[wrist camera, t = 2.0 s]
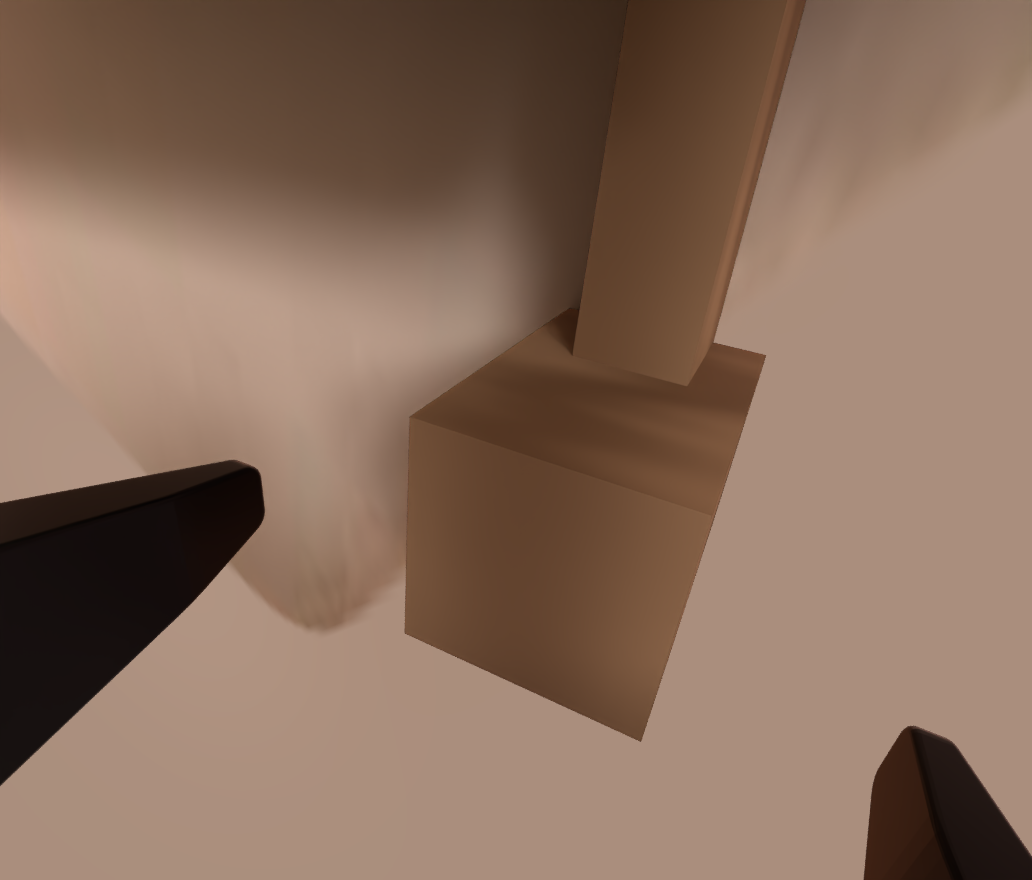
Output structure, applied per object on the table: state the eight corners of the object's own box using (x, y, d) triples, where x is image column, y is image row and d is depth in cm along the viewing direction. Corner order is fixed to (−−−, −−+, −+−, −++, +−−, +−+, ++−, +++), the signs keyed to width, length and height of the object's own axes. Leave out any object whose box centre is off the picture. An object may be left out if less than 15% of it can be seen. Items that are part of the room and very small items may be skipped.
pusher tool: (1011, -413, 7) (1344, -1481, 2) (712, 524, 14) (641, 741, 9) (670, -371, 9) (442, -1012, 4) (545, 469, 15) (404, 633, 10)
